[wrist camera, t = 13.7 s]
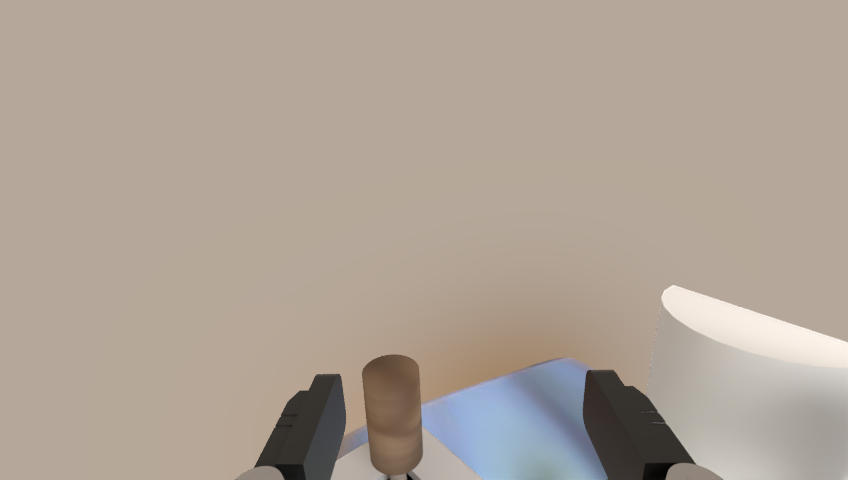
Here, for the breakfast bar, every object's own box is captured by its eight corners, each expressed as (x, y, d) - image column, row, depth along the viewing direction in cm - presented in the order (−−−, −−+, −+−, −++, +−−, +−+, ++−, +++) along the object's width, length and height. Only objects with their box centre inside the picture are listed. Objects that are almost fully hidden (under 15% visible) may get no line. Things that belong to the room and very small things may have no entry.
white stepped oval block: (766, 656, 36) (854, 397, 28) (600, 504, 51) (626, 303, 42) (839, 552, 44) (925, 327, 36) (678, 446, 59) (713, 268, 50)
